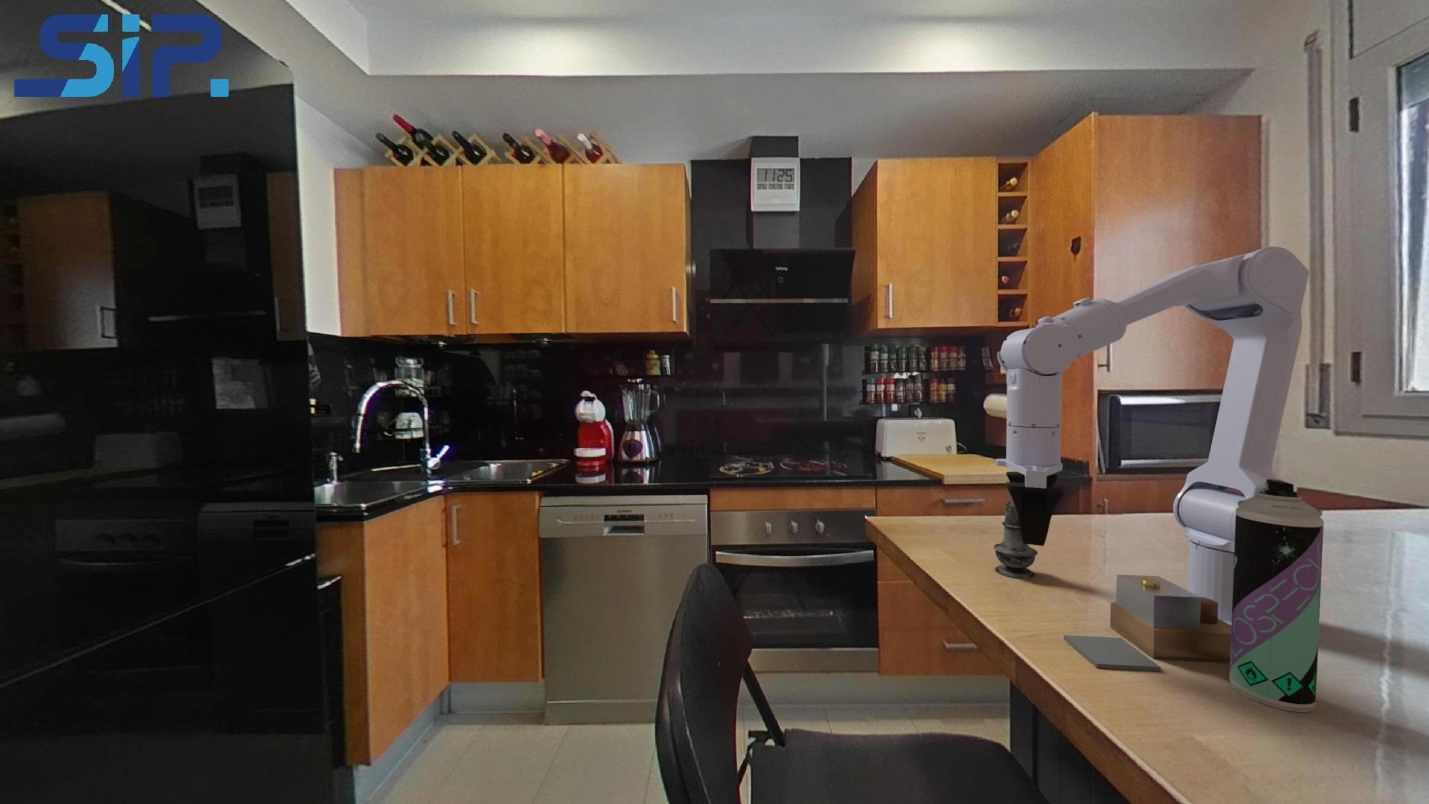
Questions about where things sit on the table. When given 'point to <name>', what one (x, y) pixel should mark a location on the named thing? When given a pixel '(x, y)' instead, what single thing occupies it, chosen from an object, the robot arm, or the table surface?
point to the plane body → (1177, 635)
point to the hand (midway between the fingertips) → (1031, 535)
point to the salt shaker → (1014, 548)
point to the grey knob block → (1158, 602)
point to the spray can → (1276, 598)
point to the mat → (1111, 653)
